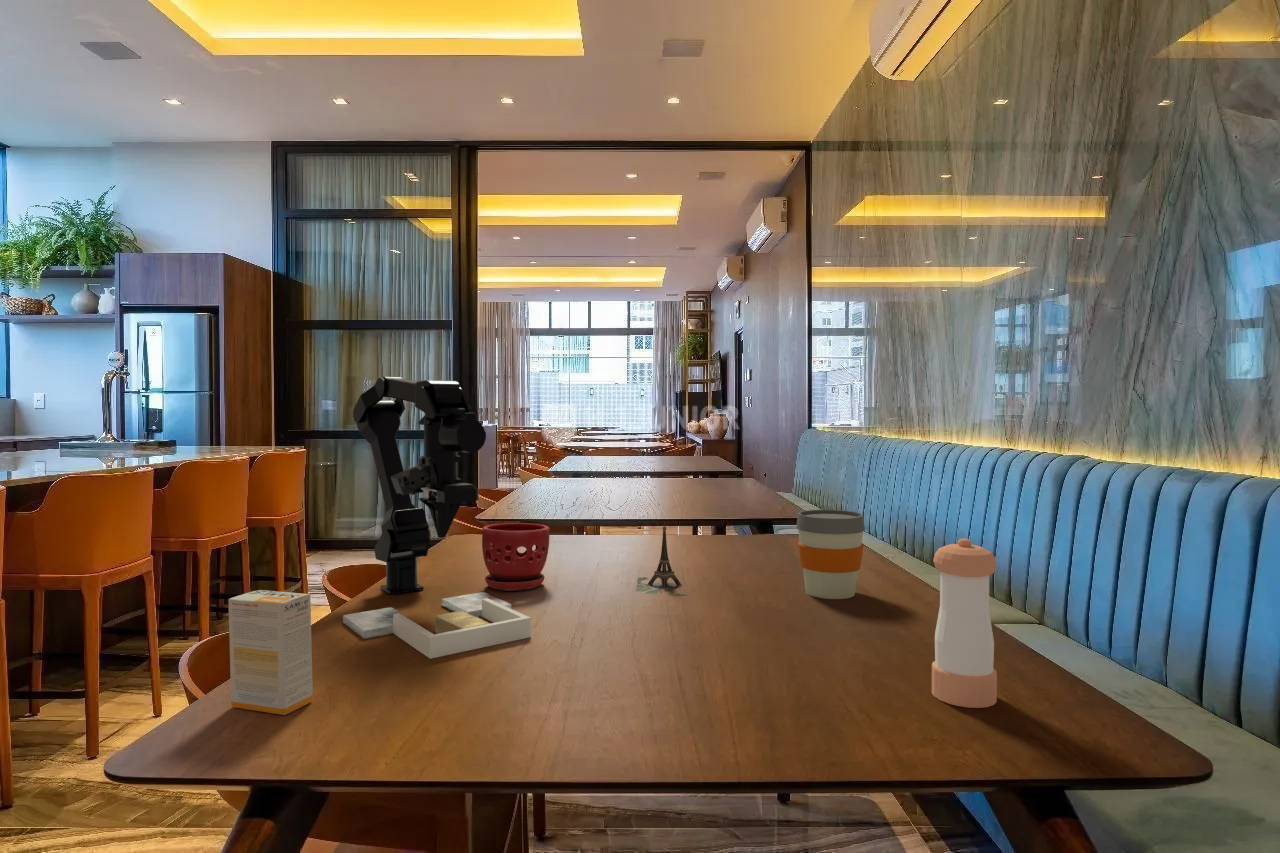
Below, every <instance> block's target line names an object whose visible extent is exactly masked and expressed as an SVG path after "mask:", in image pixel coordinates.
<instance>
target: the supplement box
mask: <svg viewBox="0 0 1280 853" xmlns="http://www.w3.org/2000/svg"><path fill="white" fill-rule="evenodd" d="M311 603H312V602H311V594H310V593H298V592H291V591H289V592H288V591H275V590H267V589H266V590H265V589H264V590H263V589H258V590H253V591H250V592H245V593H242V594H239V595H236V596H233V597H231V598H228V629H229V630H228V632H229V633H228V634H229V636H228V637H229V666H230V667H229V672H230V675H229V676H230V703H231V704H230V706H231V708H235V709H243V710H248V711H249V710H250V711H257V712H262V713H269V714H274V715H275V714H276V715H280V716H281V715H282V716H286V715H288V714H291V713H292V712H294V711H296V710H299V709H300V708H302V707H304V706H306V705H308V704H310V703H312V702H313V700H314V699H313V698H314V696H313V695H314V693H313V690H314V689H313V660H312V659H313V655H312V654H313V651H312V614H311V612H312V610H311V609H312V608H311Z"/></svg>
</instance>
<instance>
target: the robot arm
mask: <svg viewBox="0 0 1280 853" xmlns="http://www.w3.org/2000/svg"><path fill="white" fill-rule="evenodd" d="M384 398H392V399H394V401H393V400H391V399H384ZM405 401H406V402H409V403H410V402H411V403H414V407H415V408H416V409H418V410H420V411H421V412H423V413H424V415H423V416H422V417H421V418H420V420H419V422H418V423H419V425H420V426H421V425H422V426H423V445H424V448H423V449H424V451H423V452H424V453H423V454H424V455H421V456H420V455H419V456H420V457H419V458H418V465H416V466H413V467H410V468H407V469H405V470H404V467H403V462H402V459H401V458H402V457H401V454H400V450H399V446H398V442H397V433H398V431H399V429H400V426H401V417H402V416H403V413H404V412H405V410H406V407H405V403H404V402H405ZM472 409H473V408H472V406H471V404H469V402H468V399H467V397H466V396H465V392H464V391H463V389H462V388H461V384H460V383H459V382H458V381H457V380H433V379H432V380H429V379H427V380H419V381H417V380H413V379H405V378H403V377H401V376H381V377H379V378H378V379H376V381H375V383H374V385H373V386H372V387H370V388H369V389H367V390H366V391H364V392H363V393H361V394H360V395H359V397H358V399H357V401H356V403H355V405H354V407H353V410H352V417H353V420H354V422H355V423H356V424H355V425H356V427H357V430H358V433H359V434H360V436H362V437H363V438H364V440H365V441H367V442H368V443H369V444H370V447H371V451H372V455H373V460H374V463H375V467H376V471H377V472H376V474H377V476H378V480H379V484H380V488H381V493H382V497H383V501H384V506H385V511H386V512H385V515H384V518H383V521H382V523H381V525H380V526H381V527H380V529H381V535H380V537H379V539H378V541H377V542H376V544H375V546H374V548H373V550H374V555H375V556H374V557H375V559H376V560H378V561H380V562H384V563H385V572H386V573H385V574H386V576H385V577H386V580H385V582H386V584H382V585H379V586H380V587H379V588H380V589H381V590H383V591H384V592H385V593H388V594H390V595H395V594H402V593H407V592H408V593H409V592H414V591H421V590H424V589H425V588H424V586H423V585H422V584H419V583H418V558H421V557H427V556H428V551H429V546H430V541H431V537H432V535H431V531H430V525H429V522H428V521H427V515H426V511H425V510H424V508H423V507H418V508H417V507H416V506H415V505H414V504H413V502H412V498H411V495H412V496H414V495H416V493H417V494H418V493H419V494H422V497H419V498H418V500H419V501H420V502H422V504H424V505H426V507H428V509H429V512H430V515H431V518H432V521H433V525H434V528H435V531H436V535H437V537H438V538H440V539H444V538H446V536H447V535H448V532H449V531H450V528H451V526H452V523H453V521H454V519H455V517H456V515H457V513H458V512H459V509H460V507H461V505H462V504H463V503H465V502H473V501H474V502H475V501H479V488H478V487H476V485H475V484H473V483H472V484H471V483H468V482H467V483H466V482H463V480H462V478H458V463H462V455H458V453H473V454H474V453H475V452H478V451H480V450H481V449H482V448H483V446H484V445H485V443H486V440H487V439H486V438H487V432H486V429H485V427H484V425H483V424H482V423H481V422H480V421H479V420H477V419H476V418H477V416H476V413H475V412H472Z"/></svg>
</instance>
